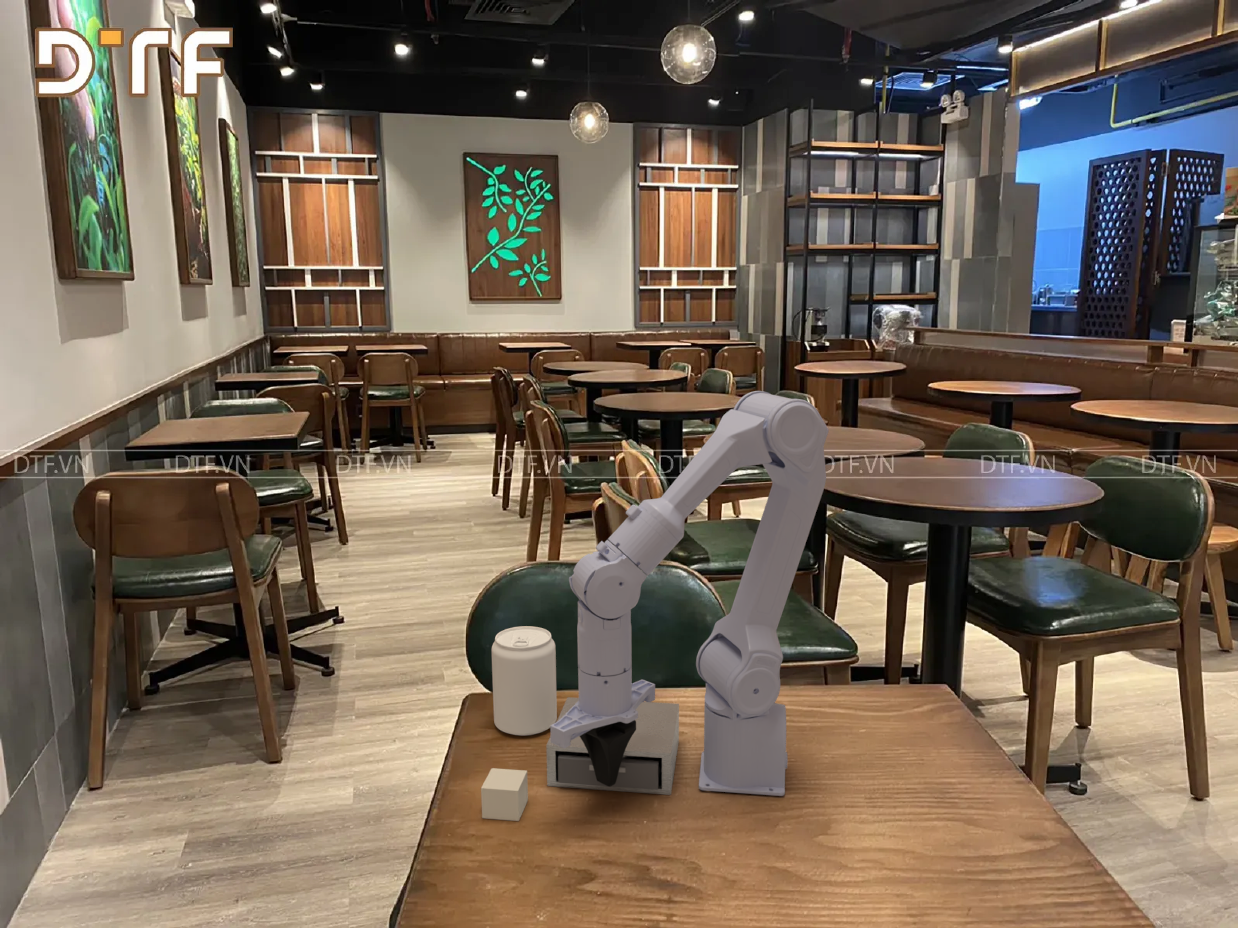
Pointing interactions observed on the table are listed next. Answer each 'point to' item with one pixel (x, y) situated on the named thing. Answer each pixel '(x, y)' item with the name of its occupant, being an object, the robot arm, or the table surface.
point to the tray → (629, 776)
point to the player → (631, 745)
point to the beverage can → (524, 680)
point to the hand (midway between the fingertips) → (606, 782)
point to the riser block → (504, 794)
